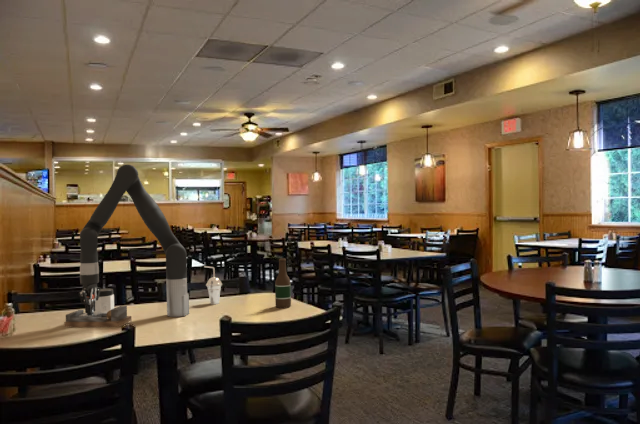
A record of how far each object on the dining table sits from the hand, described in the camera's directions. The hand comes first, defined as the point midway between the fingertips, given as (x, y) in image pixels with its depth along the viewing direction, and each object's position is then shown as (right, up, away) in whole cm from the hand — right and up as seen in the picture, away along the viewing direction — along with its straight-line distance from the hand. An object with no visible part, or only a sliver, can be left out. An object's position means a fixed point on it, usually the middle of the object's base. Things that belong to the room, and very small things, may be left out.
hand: (90, 311), depth 214 cm
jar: (-2, -5, +17) cm, 18 cm away
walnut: (+10, -3, -1) cm, 10 cm away
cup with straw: (+46, -4, +40) cm, 61 cm away
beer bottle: (+83, -3, +28) cm, 88 cm away
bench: (+4, -5, 0) cm, 6 cm away
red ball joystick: (+1, -3, 0) cm, 3 cm away
